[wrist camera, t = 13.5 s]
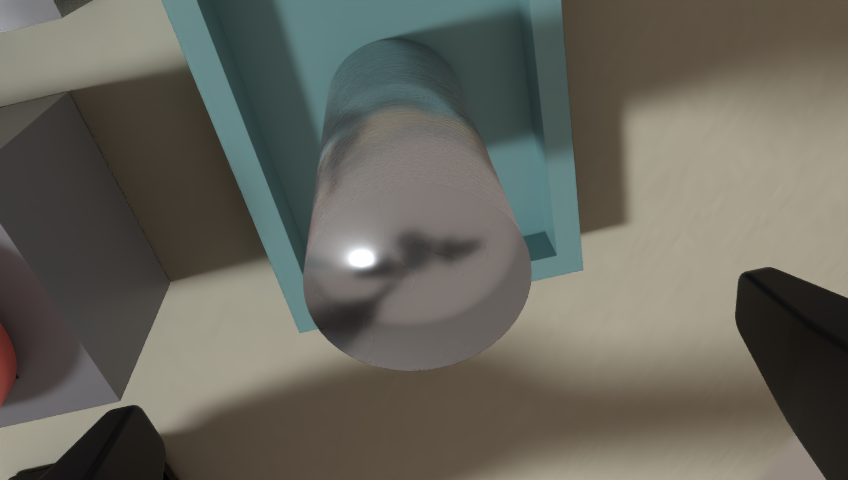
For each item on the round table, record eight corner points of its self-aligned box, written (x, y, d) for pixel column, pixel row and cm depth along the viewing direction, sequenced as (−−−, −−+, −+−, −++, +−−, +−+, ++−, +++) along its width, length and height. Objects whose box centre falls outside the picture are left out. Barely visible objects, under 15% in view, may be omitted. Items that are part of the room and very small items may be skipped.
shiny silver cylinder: (472, 151, 20) (543, 345, 12) (348, 181, 20) (340, 389, 12) (448, 23, 17) (515, 158, 10) (308, 57, 18) (269, 216, 10)
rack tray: (565, 238, 22) (583, 269, 21) (303, 296, 23) (299, 333, 21) (525, -181, 16) (545, -185, 14) (151, -89, 16) (127, -82, 14)
